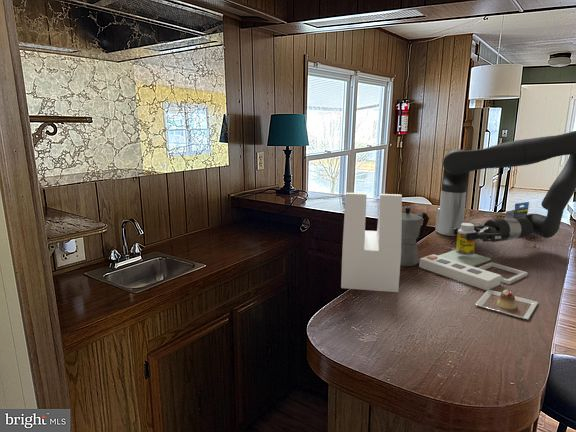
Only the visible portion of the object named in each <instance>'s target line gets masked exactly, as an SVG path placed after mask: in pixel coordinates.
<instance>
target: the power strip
mask: <svg viewBox="0 0 576 432" xmlns="http://www.w3.org/2000/svg"><path fill="white" fill-rule="evenodd" d="M418 264H419V266H418V268H420V269H424V270H426V271H430V272H432V273H434V274H435V273H436V274H438V275H441V276H444V277H447V278H450V279H451V280H452V279H453V280H455V281H459V282H461V283H464V284H467V285H469V286H472V287H475V288H478V289H481V290H485V291H487V290H488V289H489V290H492V289H494V288H496V287H498V286H500V285H501V282H500V281H501V277H502V275H501V274H499V273H497V272H496V273H495V272H492V271H489V270H487V269H485V270H483V269H480V268H478V267H476V266H474V267H473V266H470V265H467V264H463V263H460V262H457V261H454V260H451V259H447V258H444V257H441V256H438V255H437V254H434V253H433V254H430V255H426V256H423V257H421V258H419V262H418Z"/></svg>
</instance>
